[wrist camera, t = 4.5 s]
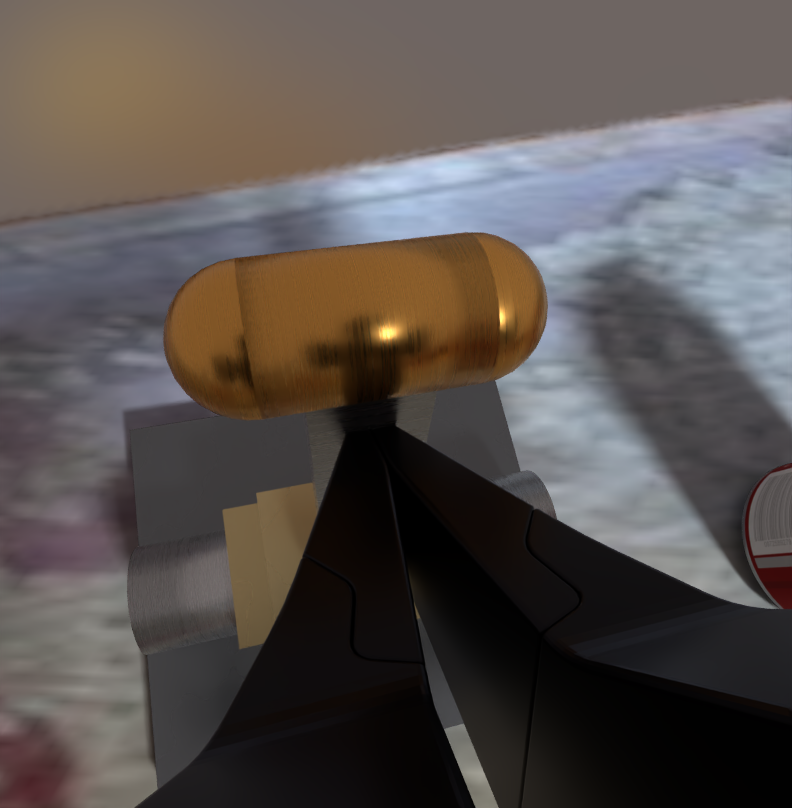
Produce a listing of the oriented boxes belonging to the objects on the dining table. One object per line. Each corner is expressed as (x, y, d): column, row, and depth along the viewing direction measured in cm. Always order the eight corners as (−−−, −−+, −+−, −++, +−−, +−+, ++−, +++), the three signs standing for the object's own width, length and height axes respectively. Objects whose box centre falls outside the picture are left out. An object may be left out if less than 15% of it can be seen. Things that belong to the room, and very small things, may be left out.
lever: (461, 573, 16) (596, 300, 7) (267, 617, 15) (139, 363, 6) (439, 503, 17) (532, 192, 8) (259, 539, 16) (141, 232, 7)
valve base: (567, 684, 21) (639, 712, 16) (169, 794, 18) (115, 866, 13) (484, 382, 24) (524, 331, 19) (139, 438, 22) (88, 395, 17)
